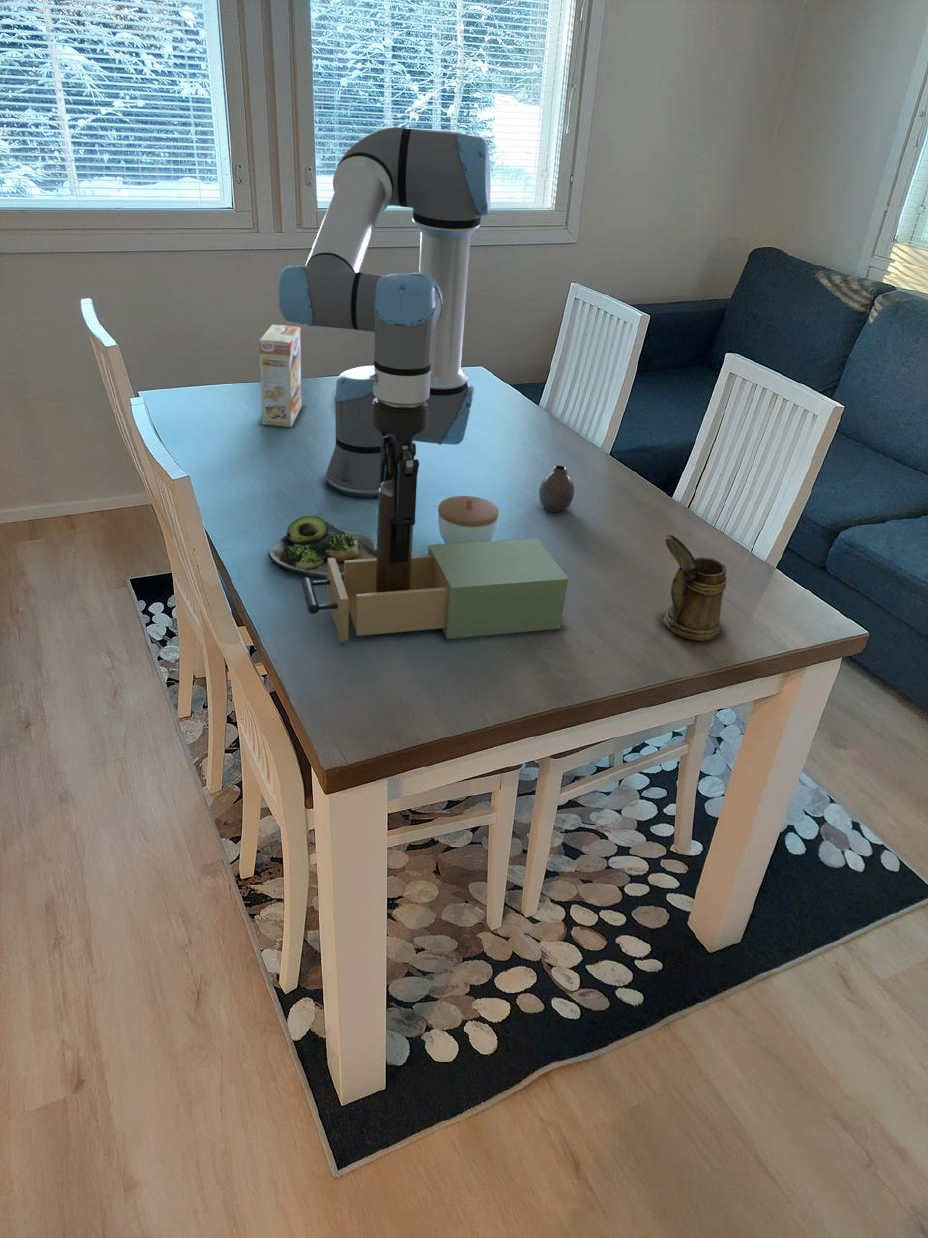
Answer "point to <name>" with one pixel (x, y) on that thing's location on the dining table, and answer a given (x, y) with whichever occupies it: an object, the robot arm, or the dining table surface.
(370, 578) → the drawer
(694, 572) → the wooden mug
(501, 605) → the cabinet
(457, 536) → the trinket box
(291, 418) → the coffeecake box
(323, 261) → the robot arm
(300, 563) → the salad plate
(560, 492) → the vase
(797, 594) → the dining table surface
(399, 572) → the pepper mill
